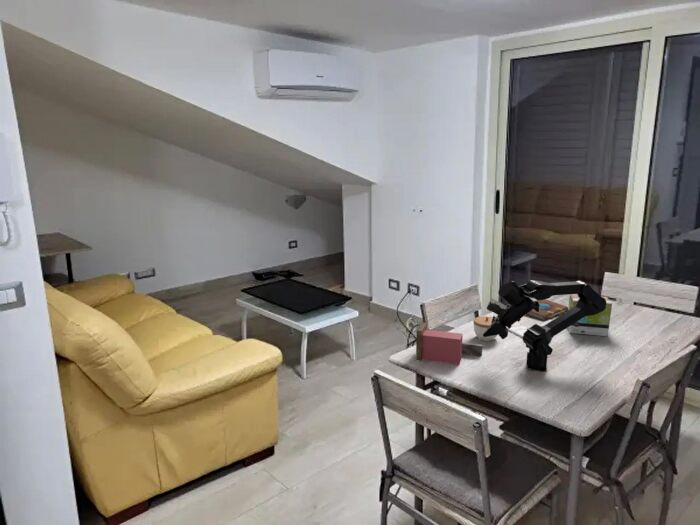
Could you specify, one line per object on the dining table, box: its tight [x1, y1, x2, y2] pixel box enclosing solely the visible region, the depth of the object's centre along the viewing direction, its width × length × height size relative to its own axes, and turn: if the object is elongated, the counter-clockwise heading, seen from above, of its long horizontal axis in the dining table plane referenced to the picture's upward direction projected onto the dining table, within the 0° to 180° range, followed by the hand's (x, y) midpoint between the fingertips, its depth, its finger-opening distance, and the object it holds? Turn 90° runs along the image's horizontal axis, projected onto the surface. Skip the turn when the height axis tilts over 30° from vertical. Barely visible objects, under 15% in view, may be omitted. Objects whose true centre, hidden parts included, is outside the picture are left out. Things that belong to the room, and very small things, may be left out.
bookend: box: [415, 322, 483, 362], centre depth 195 cm, size 23×13×12 cm, turn 71°
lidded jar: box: [473, 315, 498, 342], centre depth 213 cm, size 11×11×9 cm
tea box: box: [567, 294, 613, 337], centre depth 219 cm, size 15×10×15 cm
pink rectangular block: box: [422, 329, 463, 366], centre depth 194 cm, size 14×6×10 cm, turn 71°
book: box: [525, 299, 568, 321], centre depth 246 cm, size 16×25×5 cm, turn 127°
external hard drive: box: [507, 325, 528, 339], centre depth 218 cm, size 2×8×12 cm
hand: (483, 335), depth 188 cm, fingers closed
